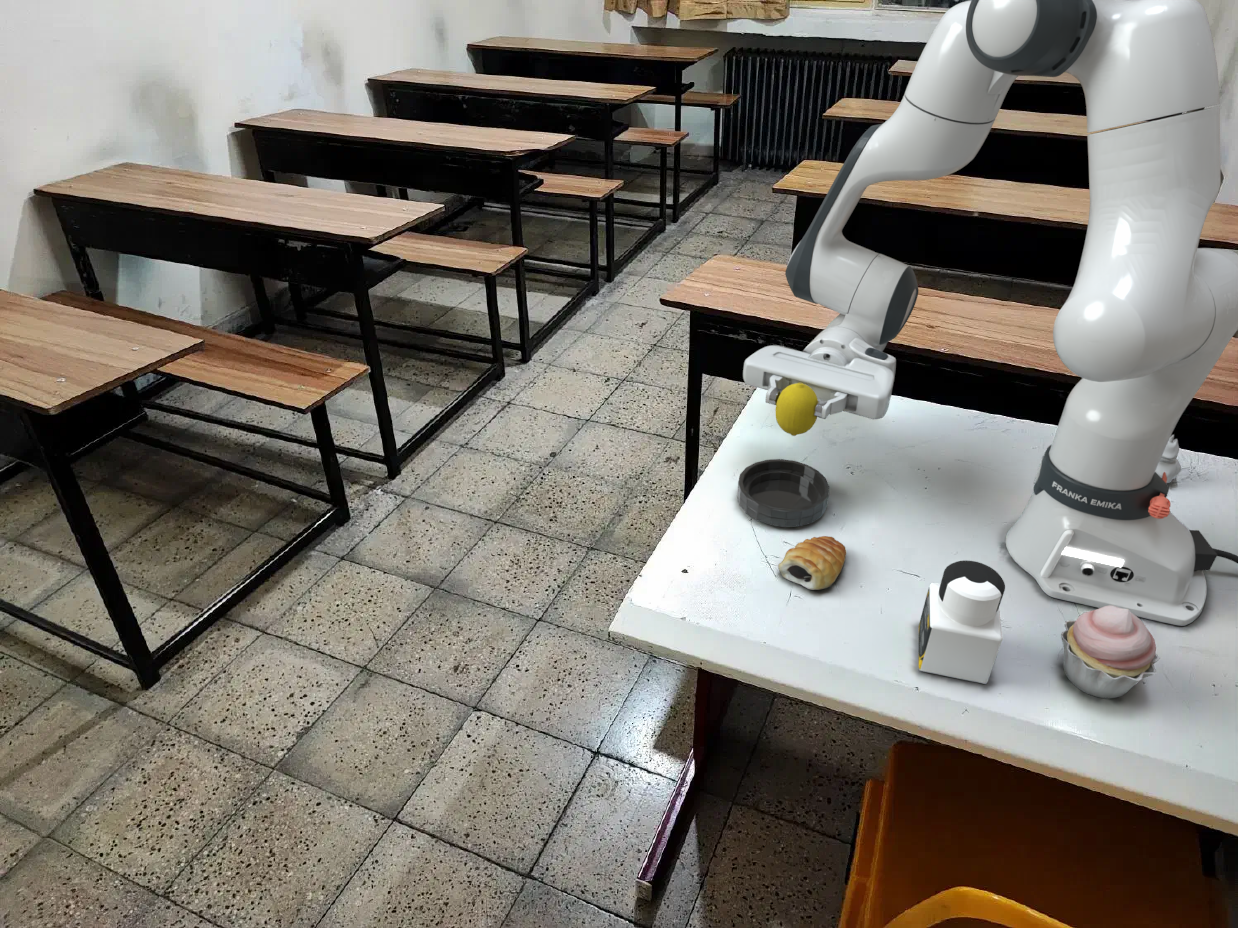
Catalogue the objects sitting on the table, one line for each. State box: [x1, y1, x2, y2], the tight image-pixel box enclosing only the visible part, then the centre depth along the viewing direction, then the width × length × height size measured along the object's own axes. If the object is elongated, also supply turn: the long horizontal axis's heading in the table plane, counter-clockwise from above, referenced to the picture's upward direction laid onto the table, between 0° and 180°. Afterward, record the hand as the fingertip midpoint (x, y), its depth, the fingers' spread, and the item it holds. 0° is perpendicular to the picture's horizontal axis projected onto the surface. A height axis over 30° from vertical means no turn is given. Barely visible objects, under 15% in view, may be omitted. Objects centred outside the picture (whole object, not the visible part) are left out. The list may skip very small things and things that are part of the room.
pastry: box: [777, 535, 847, 591], centre depth 103 cm, size 9×7×4 cm
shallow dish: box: [736, 458, 830, 528], centre depth 115 cm, size 12×12×3 cm
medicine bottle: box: [918, 560, 1006, 685], centre depth 88 cm, size 7×7×12 cm
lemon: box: [774, 383, 818, 437], centre depth 108 cm, size 6×6×8 cm
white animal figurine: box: [1155, 434, 1182, 484], centre depth 117 cm, size 5×7×8 cm
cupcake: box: [1060, 605, 1161, 700], centre depth 86 cm, size 9×9×10 cm
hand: (795, 406), depth 107 cm, fingers closed on lemon, 5 cm apart
